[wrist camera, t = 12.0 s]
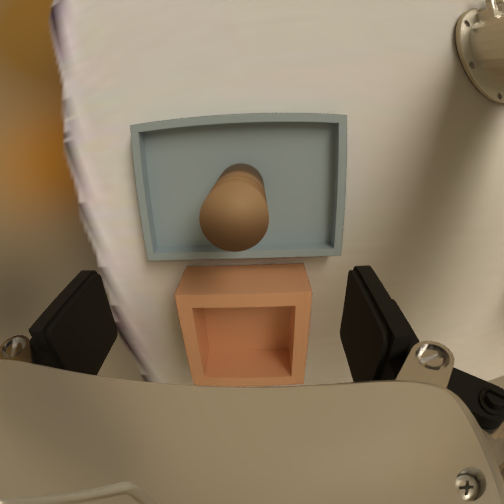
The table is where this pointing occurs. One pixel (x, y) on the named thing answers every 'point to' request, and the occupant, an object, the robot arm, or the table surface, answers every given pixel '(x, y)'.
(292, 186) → the tray
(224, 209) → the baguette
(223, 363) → the open box
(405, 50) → the table surface
